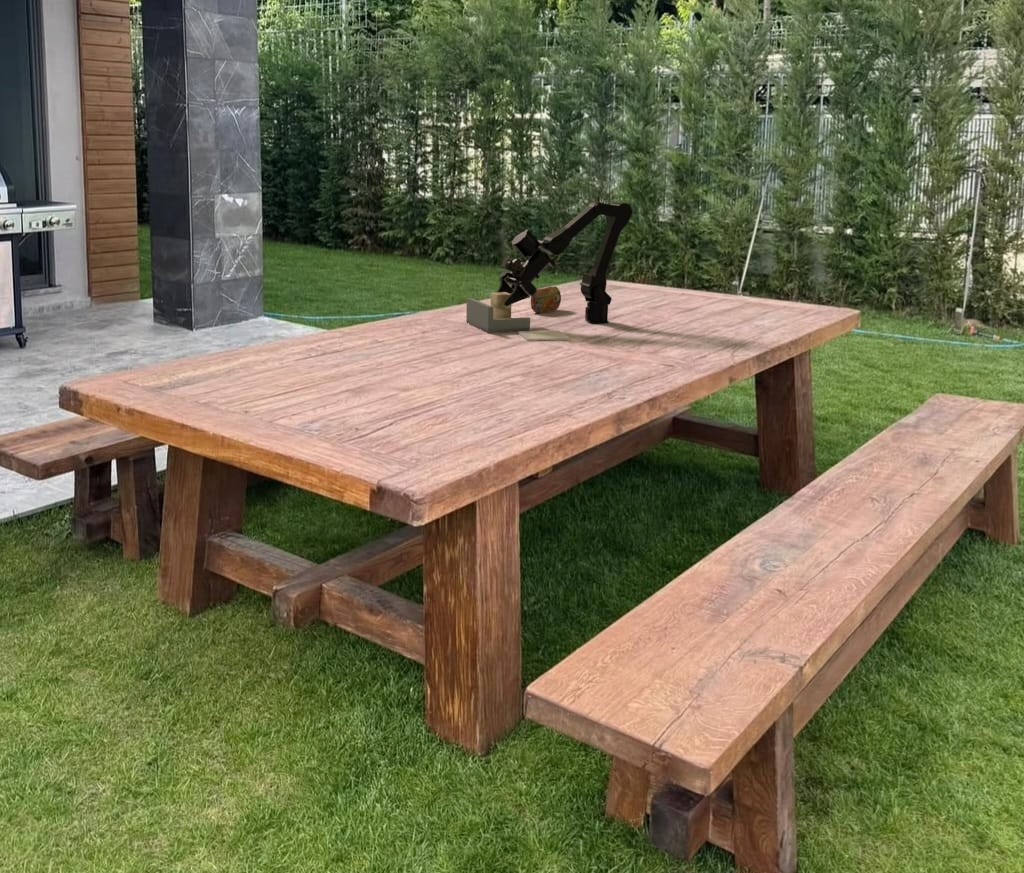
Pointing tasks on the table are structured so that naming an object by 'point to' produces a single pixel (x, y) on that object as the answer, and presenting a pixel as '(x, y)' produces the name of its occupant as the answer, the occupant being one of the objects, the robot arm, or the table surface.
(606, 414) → the table surface
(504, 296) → the block
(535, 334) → the tile
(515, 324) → the grey walled tray
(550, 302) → the tin
